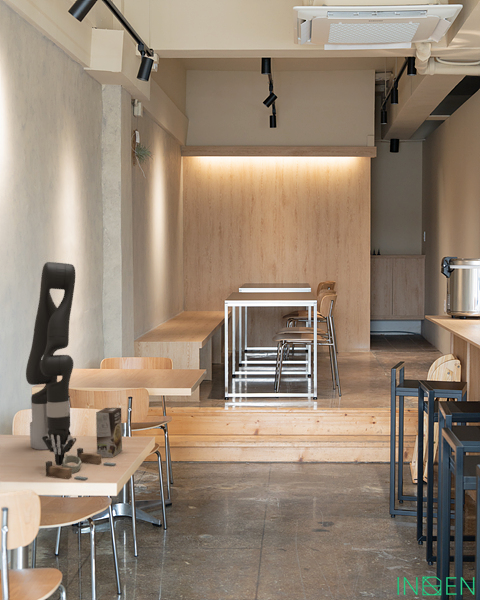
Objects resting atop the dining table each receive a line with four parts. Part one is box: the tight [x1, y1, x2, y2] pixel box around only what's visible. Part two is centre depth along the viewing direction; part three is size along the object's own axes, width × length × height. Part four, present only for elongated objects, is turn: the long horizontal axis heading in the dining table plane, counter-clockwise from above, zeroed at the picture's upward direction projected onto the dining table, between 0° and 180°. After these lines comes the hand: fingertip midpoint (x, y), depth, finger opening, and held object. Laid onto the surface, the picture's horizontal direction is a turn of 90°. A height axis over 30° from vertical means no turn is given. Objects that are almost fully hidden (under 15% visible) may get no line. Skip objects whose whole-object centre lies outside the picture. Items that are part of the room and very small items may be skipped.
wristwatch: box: [61, 454, 82, 474], centre depth 215 cm, size 9×6×5 cm
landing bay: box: [74, 461, 117, 482], centre depth 212 cm, size 4×18×1 cm, turn 157°
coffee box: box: [95, 407, 123, 458], centre depth 234 cm, size 9×6×16 cm
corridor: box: [45, 447, 102, 480], centre depth 216 cm, size 9×18×4 cm, turn 157°
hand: (59, 464), depth 218 cm, fingers closed
